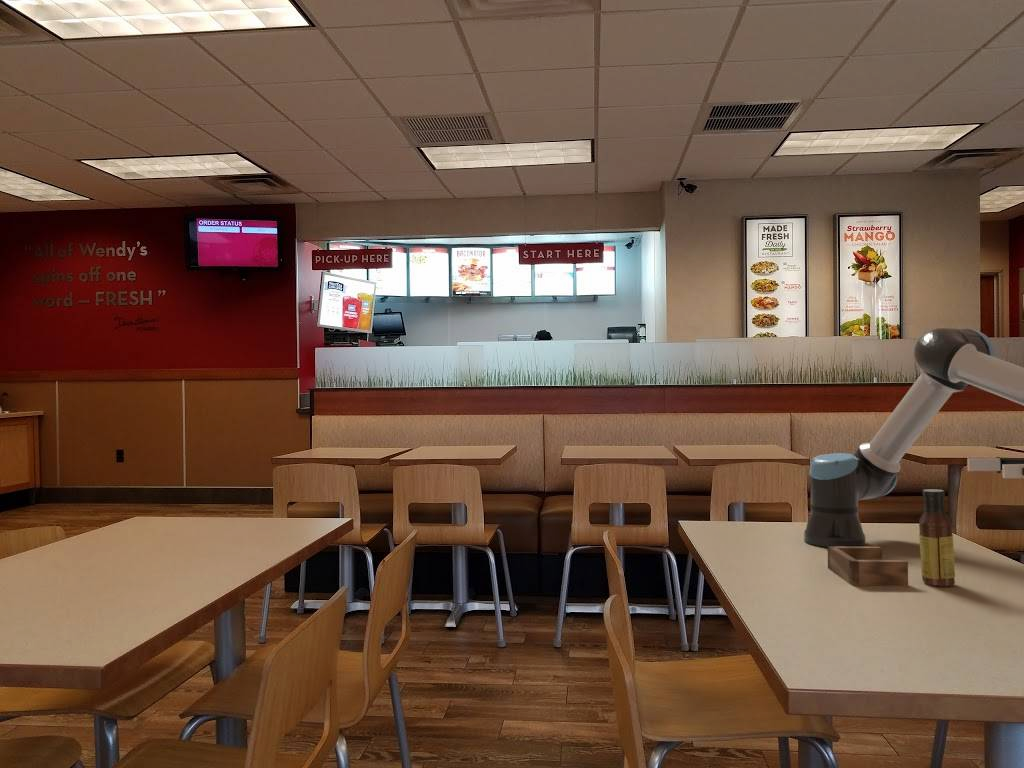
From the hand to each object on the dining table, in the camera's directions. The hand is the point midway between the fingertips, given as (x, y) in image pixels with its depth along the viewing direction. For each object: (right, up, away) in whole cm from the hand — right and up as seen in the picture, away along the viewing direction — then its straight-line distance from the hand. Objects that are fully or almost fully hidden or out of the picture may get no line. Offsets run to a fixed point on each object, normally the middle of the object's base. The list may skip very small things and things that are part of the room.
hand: (984, 467), depth 160 cm
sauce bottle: (-10, -25, +1) cm, 27 cm away
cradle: (-21, -25, +8) cm, 33 cm away
